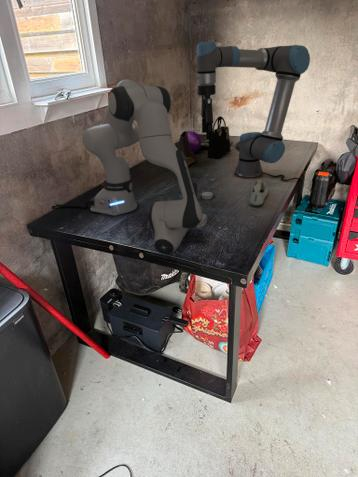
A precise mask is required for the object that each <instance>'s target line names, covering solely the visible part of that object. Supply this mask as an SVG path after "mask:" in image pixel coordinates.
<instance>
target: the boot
mask: <svg viewBox="0 0 358 477" xmlns="http://www.w3.org/2000/svg"><path fill="white" fill-rule="evenodd" d="M187 131H188V130H186V131H185V130H183V131H182V133H180V135H179V139H178V141H180V144H179V148H180V149H179V150H180V151H182V152H183V154H184V156H185V158H186V161H187V164H188V167H189V166H190V165H191V164H194V163H195V162H196V161H197V156H196V154H195V152H194V153H193V152H192V151H191V148H190V144H189V140H188V135H187Z"/></svg>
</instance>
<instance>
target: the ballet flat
mask: <svg viewBox="0 0 358 477" xmlns="http://www.w3.org/2000/svg"><path fill="white" fill-rule="evenodd" d="M268 194H269V189H268V186H267V183H266V182H265V181H264V180H262V179H257V180H255V181H254V182H253V184H252V187H251V190H250V196H249V204H250V205H251V206H252V207H260V206H261V205H263V203H264V201H265V198H266V196H267V195H268Z"/></svg>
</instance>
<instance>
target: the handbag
mask: <svg viewBox="0 0 358 477" xmlns="http://www.w3.org/2000/svg"><path fill="white" fill-rule="evenodd" d="M222 122H223V126H221V125H222ZM216 123H217V124H216ZM216 125H217V126H216ZM215 126H216V127H217V128H215ZM230 136H231V134H230V128H229V126H227V124H226V120H225V118H224V117H223V116H221V115H219V116H218V117H217V118H216V119H215V121H214V122H213V139H212V140H209V144H208V147H207V154H206V155H207V156H206V157H207V158H212V159H220V158H222V157H224V156H225V155H227V154H228V153H230V152H231V145H230V141H231V139H230Z"/></svg>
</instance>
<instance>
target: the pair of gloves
mask: <svg viewBox="0 0 358 477" xmlns="http://www.w3.org/2000/svg"><path fill="white" fill-rule="evenodd" d="M208 144H209V140H206V136H205V138H204V140H201V145H200V148H199V149H198V150H200V149H204V148H208ZM233 144H234V141H233V140H230V146H231V145H233Z"/></svg>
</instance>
